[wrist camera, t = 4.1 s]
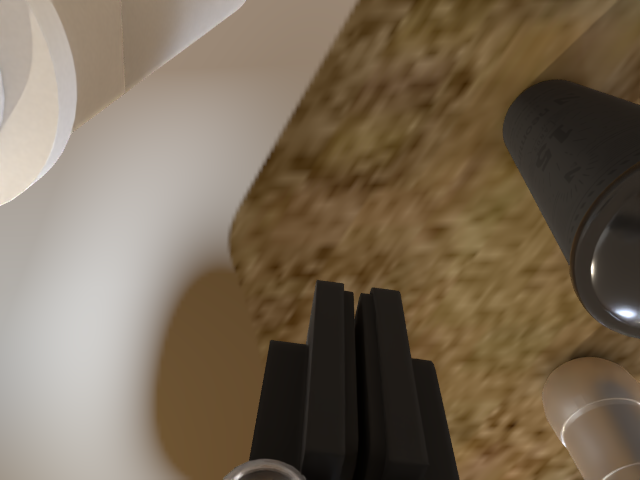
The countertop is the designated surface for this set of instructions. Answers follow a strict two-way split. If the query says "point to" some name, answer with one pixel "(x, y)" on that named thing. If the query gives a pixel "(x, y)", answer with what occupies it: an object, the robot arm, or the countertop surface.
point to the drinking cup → (585, 189)
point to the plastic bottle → (596, 417)
